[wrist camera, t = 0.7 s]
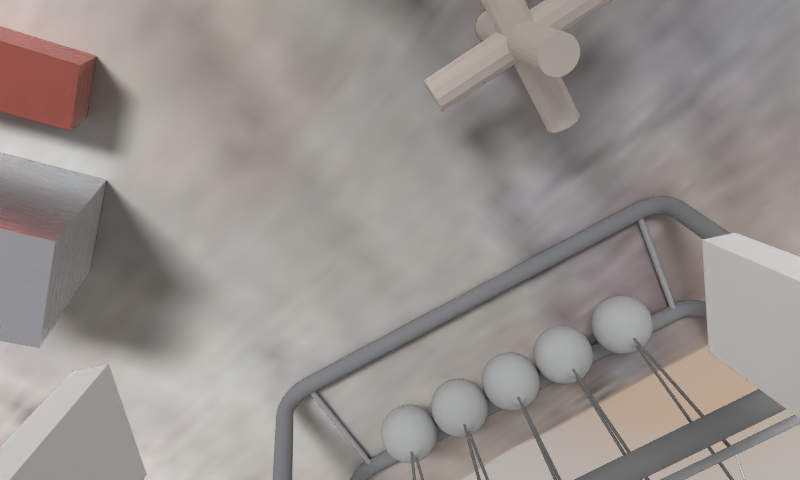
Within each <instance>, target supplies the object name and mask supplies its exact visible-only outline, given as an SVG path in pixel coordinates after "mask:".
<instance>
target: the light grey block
mask: <svg viewBox="0 0 800 480" xmlns="http://www.w3.org/2000/svg"><path fill="white" fill-rule="evenodd" d="M105 185H106V180H103V179H100V178H96V177H92V176H88V175H84V174H80V173H76V172H73V171H69V170H65V169H61V168H57V167H53V166H49V165H46V164H42V163H38V162H34V161H30V160H26V159H22V158H18V157H15V156H11V155H7V154H3V153H0V341H4V342H10V343H15V344H21V345H26V346H31V347H37V348H40V346H41V345H42V343H43V342H44V340H45V339H46V337H47V336H48V334H49V332H50V331H51V329H52V328H53V326H54V325H55V323H56V322H57V320H58V319H59V317H60V316H61V314H62V313H63V311H64V310H65V308H66V306H67V305H68V303H69V302H70V300H71V299H72V297H73V296H74V294H75V293H76V291H77V290H78V288H79V287H80V285H81V283H82V282H83V280H84V279H85V277H86V276H87V274H88V273H89V271H90V270H91V264H92V258H93V253H94V247H95V241H96V236H97V230H98V224H99V219H100V213H101V208H102V202H103V196H104V191H105Z"/></svg>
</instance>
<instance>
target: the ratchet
mask: <svg viewBox="0 0 800 480" xmlns="http://www.w3.org/2000/svg"><path fill="white" fill-rule="evenodd" d="M95 62H96V56H94V55H90V54H87V53H84V52H81V51H78V50H74V49H71V48H68V47H65V46H61V45H58V44H55V43H52V42H48V41H45V40H42V39H39V38H36V37H32V36H29V35H26V34H23V33H19V32H16V31H13V30H10V29H7V28H3V27H0V111H1V112H4V113H8V114H11V115H15V116H19V117H22V118H26V119H30V120H33V121H37V122H40V123H44V124H48V125H51V126H55V127H59V128H62V129H66V130H70V131H71V130H72V129H73V128H74V127H76V126H77V125H78V124H79V123H81V122H82V121H83V120H84V119H86V118H87V112H88V106H89V100H90V93H91V87H92V81H93V74H94V68H95Z"/></svg>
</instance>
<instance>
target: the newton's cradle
mask: <svg viewBox="0 0 800 480" xmlns="http://www.w3.org/2000/svg"><path fill="white" fill-rule="evenodd" d="M655 214H668V215H670V216H672V217H673V218H675V219H676V220H678V221H679V222H680V223H682V224H683V225H684V226H686V227H687V228H689V229H690V230H691V231H693V232H694V233H695V234H697V235H698V236H699V237H701V238H702V239H708V238H712V237H717V236H722V235H727V234H731V233H729V232H728V231H726V230H725V229H723V228H722V227H720V226H719V225H717V224H716V223H714V222H713V221H711V220H710V219H708V218H707V217H705V216H704V215H702V214H701V213H699V212H698V211H696V210H695V209H693V208H692V207H690V206H689V205H687V204H686V203H685V202H683V201H681V200H678V199H676V198H673V197H665V196H662V197H652V198H648V199H644V200H641V201H639V202H637V203H634V204H632V205H630V206H628V207H626V208H625V209H623V210H621V211H619V212H617V213H615V214H613V215H611V216H610V217H608V218H606V219H604V220H602V221H600V222H598V223H596V224H594V225H593V226H591V227H589V228H587V229H585V230H583V231H581V232H579V233H578V234H576V235H574V236H572V237H570V238H568V239H566V240H564V241H563V242H561V243H559V244H557V245H555V246H553V247H551V248H549V249H547V250H546V251H544V252H542V253H540V254H538V255H536V256H534V257H532V258H531V259H529V260H527V261H525V262H523V263H521V264H519V265H517V266H515V267H514V268H512V269H510V270H508V271H506V272H504V273H502V274H500V275H499V276H497V277H495V278H493V279H491V280H489V281H487V282H485V283H483V284H482V285H480V286H478V287H476V288H474V289H472V290H470V291H468V292H467V293H465V294H463V295H461V296H459V297H457V298H455V299H453V300H451V301H450V302H448V303H446V304H444V305H442V306H440V307H438V308H436V309H435V310H433V311H431V312H429V313H427V314H425V315H423V316H421V317H419V318H418V319H416V320H414V321H412V322H410V323H408V324H406V325H404V326H403V327H401V328H399V329H397V330H395V331H393V332H391V333H389V334H387V335H386V336H384V337H382V338H380V339H378V340H376V341H374V342H372V343H371V344H369V345H367V346H365V347H363V348H361V349H359V350H357V351H356V352H354V353H352V354H350V355H348V356H346V357H344V358H342V359H340V360H339V361H337V362H335V363H333V364H331V365H329V366H327V367H325V368H324V369H322V370H320V371H318V372H316V373H314V374H312V375H310V376H308V377H307V378H305V379H303V380H301V381H300V382H298V383H297V384H295V385H294V386H293V387H292V388H291V389H290V390H289V391H288V392H287V393H286V395H285V396H284V397H283V399H282V400H281V402H280V404H279V406H278V410H277V415H276V431H275V450H274V468H273V480H292V458H293V414H294V411H295V409H296V407H297V406H298V404H299V403H300V402H301V401H302V400H303V399H304V398H305V397H306V396H308V395H311V396H312V397H313V398H314V400H315V401H316V402H317V403H318V404H319V406H320V407H321V408H322V409H323V411H324V412H325V413H326V414H327V416H328V417H329V418H330V419H331V420H332V422H333V423H334V424H335V425H336V427H337V428H338V429H339V430H340V431H341V433H342V434H343V435H344V436H345V438H346V439H347V440H348V441H349V443H350V444H351V445H352V446H353V447H354V449H355V450H356V451H357V452H358V454H359V455H360V456H361V457H362V458H363V460H364V461H365V462H364V463H363V464H362V465H361V466H360V467H359V468H358V469H357V470H356V471H355V472H354V474H353V475H352V477H351V478H350V480H368V479H369V478H370V477H371V476H372V475H374V474H375V473H377V472H379V471H381V470H383V469H385V468H387V467H389V466H391V465H393V464H395V463H397V462H399V461H401V462H404V463H411V464H412V472H413V480H416V476H415V468H414V462H416V463H417V467H418V470H419V474H420V477H421V480H424V478H423V475H422V472H421V468H420V465H419V461H420V460H422V459H424V458H425V457H427V456H428V455H429V454H430V452H431V451H432V450H433V448H434V446H435V443H436V442H438V441H440V440H442V439H444V438H446V437H448V436H450V435H451V436H456V437H466V438H467V442H468V446H469V449H470V453H471V457H472V460H473V464H474V468H475V471H476V475H477V479H478V480H481V479H480V475H479V472H478V468H477V465H476V461H475V457H474V454H473V450H472V447H471V443H470V439H471V442H472V445H473V447H474V450H475V452H476V455H477V458H478V460H479V463H480V465H481V468H482V470H483V473H484V475H485V478H486V480H489V479H488V476H487V474H486V471H485V469H484V466H483V463H482V461H481V458H480V456H479V453H478V451H477V448H476V445H475V443H474V440H473V438H472V434H474V433H475V432H477V431H478V430H479V429H480V428H481V427H482V425H483V424H484V422H485V420H486V417H487V416H489V415H491V414H493V413H495V412H497V411H499V410H501V409H504V410H512V411H514V410H520V409H522V410H523V412H524V415H525V417H526V419H527V421H528V423H529V426H530V428H531V430H532V432H533V434H534V437H535V439H536V441H537V443H538V445H539V448H540V450H541V452H542V454H543V456H544V459H545V461H546V463H547V465H548V468H549V470H550V472H551V474H552V476H553V479H554V480H557V479H558V480H561V478H560V476H559V474H558V472H557V470H556V468H555V466H554V464H553V462H552V460H551V458H550V456H549V454H548V452H547V450H546V448H545V446H544V444H543V442H542V440H541V438H540V436H539V434H538V432H537V430H536V428H535V426H534V424H533V422H532V420H531V418H530V416H529V414H528V412H527V410H526V408H525V407H527V406H528V405H529V404H531V403H532V402H533V400H534V399H535V398H536V396H537V394H538V391H539V390H540V389H542V388H544V387H546V386H548V385H550V384H552V383H554V382H556V383H561V384H568V383H573V382H576V381H578V382H579V384H580V385H581V387H582V389H583V390H584V392H585V394H586V395H587V397H588V398H589V400H590V402H591V403H592V405H593V407H594V408H595V410H596V411H597V413H598V415H599V416H600V418H601V420H602V421H603V423H604V425H605V426H606V428H607V429H608V431H609V433H610V434H611V436H612V437H613V439H614V441H615V442H616V444H617V446H618V447H619V449H620V451H621V452H622V454H623V455H624V456H622V457H620V458H618V459H615V460H613V461H611V462H609V463H607V464H605V465H603V466H601V467H599V468H597V469H595V470H593V471H591V472H589V473H587V474H585V475H583V476H581V477H579V478H577V479H575V480H642V479H643V478H645V480H650V479H649V478H648V476H649V475H651V474H654V473H656V472H658V471H659V470H662V469H664V468H666V467H668V466H670V465H672V464H674V463H676V462H678V461H680V460H682V459H684V458H686V457H688V456H691V455H693V454H695V453H697V452H699V451H701V450H703V449H705V448H708V449H709V451H710V452H711V454H712V455H711V456H709V457H707V458H705V459H703V460H701V461H698V462H696V463H694V464H692V465H690V466H688V467H686V468H684V469H682V470H680V471H678V472H676V473H673V474H671V475H670V476H667V477H665V478H663V479H661V480H684V479H687V478H689V477H691V476H693V475H695V474H697V473H699V472H701V471H703V470H705V469H707V468H709V467H711V466H713V465H716V464H718V463H719V465H720V466H721V468H722V469H723V471H724V472H725V473H726V475H727V476H728V478H729V479H730V480H734V479H733V478H732V476H731V475H730V474H729V472H728V471H727V469H726V468H725V467H724V465H723V464H722V463H721V462H722V461H724V460H726V459H728V458H730V457H732V456H734V455H735V457H736V460H737V462H738V465H739V468H740V471H741V474H742V477H743V479H744V480H746V479H745V476H744V473H743V470H742V467H741V464H740V462H739V459H738V456H737V454H738V453H740V452H743V451H744V450H747V449H749V448H751V447H753V446H755V445H757V444H759V443H761V442H763V441H765V440H767V439H769V438H771V437H773V436H776V435H778V434H780V433H782V432H784V431H786V430H788V429H790V428H792V427H794V426H796V425H799V424H800V418H798V417H797V416H795V415H793V416H791V417H790V418H787V419H785V420H783V421H781V422H779V423H777V424H775V425H773V426H771V427H769V428H766V429H764V430H762V431H761V432H758V433H756V434H754V435H752V436H750V437H748V438H746V439H744V440H742V441H740V442H737V443H735V444H733V445H730V444H729V443H728V442H727V441H726V440H725V439H726V438H728V437H729V436H732V435H734V434H736V433H738V432H740V431H742V430H744V429H746V428H748V427H750V426H752V425H755V424H757V423H759V422H761V421H763V420H765V419H767V418H769V417H771V416H773V415H775V414H777V413H779V412H781V411H783V410H785V409H786V408H784V407H783V406H782V405H780V404H779V403H778V402H776V401H775V400H774V399H772V398H771V397H769V396H768V395H767V394H765V393H764V392H763V391H761V390H760V389H758V390H756V391H754V392H752V393H750V394H748V395H746V396H744V397H742V398H740V399H738V400H736V401H734V402H732V403H730V404H728V405H726V406H724V407H721V408H719V409H717V410H715V411H713V412H712V413H710V414H707V415H705V416H704V415H703V414H702V413H701V411H700V410H699V409H698V408H697V407H696V406H695V405H694V404H693V402H691V400H690V399H689V398H688V397H687V396H686V395H685V393H684V392H683V391H682V390H681V389H680V388H679V387H678V386H677V384H676V383H675V382H674V381H673V380H672V379H671V378H670V377H669V375H668V374H667V373H666V372H665V371H664V370H663V369H662V368H661V366H660V365H659V364H658V363H657V362H656V361H655V360H654V359H653V357H652V356H651V355H650V354H649V353H648V352H647V351H646V350H645V348H644V346H645V345H646V343H647V342H648V341H649V339H650V337H651V334H652V332H654V331H656V330H658V329H660V328H662V327H664V326H666V325H668V324H670V323H672V322H674V321H676V320H678V319H680V318H683V317H686V316H699V317H702V318H704V319H706V320H707V314H706V302H703V301H699V300H687V301H681V302H678V303H675V304H674V301H673V298H672V296H671V293H670V290H669V287H668V285H667V282H666V279H665V276H664V274H663V271H662V268H661V265H660V263H659V260H658V257H657V254H656V252H655V249H654V246H653V243H652V241H651V238H650V235H649V232H648V230H647V227H646V224H645V221H644V219H643V218H645V217H647V216H650V215H655ZM637 221H638V223H639V226H640V229H641V231H642V234H643V237H644V239H645V242H646V245H647V248H648V250H649V253H650V256H651V258H652V261H653V264H654V266H655V269H656V272H657V275H658V277H659V280H660V283H661V285H662V288H663V291H664V293H665V296H666V299H667V302H668V304H669V306H668V307H666V308H664V309H662V310H660V311H658V312H656V313H654V314H652V315H650V313H649V311H648V310H647V308H646V307H645V306H644V305H643V304H642V303H641V302H640V301H638V300H636V299H634V298H632V297H629V296H621V295H620V296H613V297H610V298H607V299H605V300H604V301H602V302H601V303H600V304H599V305H598V306H597V307H596V309H595V311H594V313H593V316H592V321H591V325H592V331H593V334H594V336H595V338H596V339H597V341H598V343H596V344H594V345H592V346H591V345H590V343H589V341H588V339H587V338H586V337H585V336H584V335H583V334H582V333H581V332H580V331H578V330H576V329H575V328H572V327H569V326H555V327H552V328H549V329H547V330H546V331H544V332H543V333H542V334H541V335H540V336H539V338H538V339H537V341H536V344H535V347H534V360H535V363H536V365H537V368H538V369H539V371H540V372H539V373H538V372H537V369H536V367H535V366H534V365H533V363H532V362H531V361H530V360H529V359H527V358H526V357H525V356H523V355H520V354H517V353H512V352H509V353H503V354H499V355H497V356H495V357H494V358H493V359H491V360H490V361H489V362H488V364H487V365H486V367H485V369H484V372H483V377H482V384H483V389H484V392H485V394H486V396H487V397H488V399H486V397H485V395H484V393H483V392H482V390H481V389H480V388H479V387H478V386H477V385H476V384H474V383H473V382H471V381H468V380H465V379H453V380H449V381H447V382H445V383H444V384H442V385H441V386H440V387H439V388H438V389H437V390H436V392H435V394H434V396H433V399H432V404H431V410H432V415H433V418H434V420H435V422H436V424H437V425H435V422H434V420H433V418H432V417H431V415H430V414H429V413H428V412H427V411H426V410H424V409H423V408H421V407H419V406H416V405H402V406H399V407H397V408H395V409H394V410H392V411H391V412H390V413H389V414H388V415H387V417H386V418H385V420H384V422H383V426H382V430H381V437H382V442H383V445H384V447H385V449H386V451H385V452H383V453H381V454H379V455H377V456H375V457H373V458H371V459H369V457H368V456H367V455H366V454H365V452H364V451H363V450H362V449H361V447H360V446H359V445H358V444H357V442H356V441H355V440H354V439H353V438H352V436H351V435H350V434H349V433H348V431H347V430H346V429H345V428H344V426H343V425H342V424H341V423H340V421H339V420H338V419H337V418H336V416H335V415H334V414H333V413H332V411H331V410H330V409H329V408H328V407H327V405H326V404H325V403H324V402H323V400H322V399H321V398H320V397H319V395H318V394H317V393H316V392H315V391H317V390H319V389H321V388H322V387H324V386H326V385H328V384H330V383H332V382H334V381H336V380H338V379H339V378H341V377H343V376H345V375H347V374H349V373H351V372H353V371H355V370H357V369H358V368H360V367H362V366H364V365H366V364H368V363H370V362H372V361H374V360H375V359H377V358H379V357H381V356H383V355H385V354H387V353H389V352H391V351H392V350H394V349H396V348H398V347H400V346H402V345H404V344H406V343H408V342H410V341H411V340H413V339H415V338H417V337H419V336H421V335H423V334H425V333H427V332H428V331H430V330H432V329H434V328H436V327H438V326H440V325H442V324H444V323H445V322H447V321H449V320H451V319H453V318H455V317H457V316H459V315H461V314H463V313H464V312H466V311H468V310H470V309H472V308H474V307H476V306H478V305H480V304H481V303H483V302H485V301H487V300H489V299H491V298H493V297H495V296H497V295H498V294H500V293H502V292H504V291H506V290H508V289H510V288H512V287H514V286H516V285H517V284H519V283H521V282H523V281H525V280H527V279H529V278H531V277H533V276H534V275H536V274H538V273H540V272H542V271H544V270H546V269H548V268H550V267H551V266H553V265H555V264H557V263H559V262H561V261H563V260H565V259H567V258H569V257H570V256H572V255H574V254H576V253H578V252H580V251H582V250H584V249H586V248H587V247H589V246H591V245H593V244H595V243H597V242H599V241H601V240H603V239H605V238H606V237H608V236H610V235H612V234H614V233H616V232H618V231H620V230H622V229H623V228H625V227H627V226H629V225H631V224H633V223H635V222H637ZM641 349H642V350H643V351H644V352H645V354H646V355H647V356H648V357H649V358H650V359H651V360H652V362H653V363H654V364H655V365H656V366H657V367H658V368H659V370H660V371H661V372H662V373H663V374H664V375H665V376H666V378H667V379H668V380H669V381H670V382H671V383H672V384H673V385H674V387H675V388H676V389H677V390H678V391H679V392H680V394H681V395H682V396H683V397H684V398H685V399H686V400H687V401H688V403H690V405H691V406H692V407H693V408H694V409H695V411H696V412H697V413H698V414H699V415H700V416H701V418H699V419H697V420H695V421H693V422H692V420H691V419H690V417H689V416H688V415H687V413H686V412H685V410H684V409H683V408H682V406H681V405H680V403H679V402H678V401H677V399H676V398H675V396H674V395H673V394H672V392H671V391H670V389H669V388H668V387H667V385H666V384H665V382H664V381H663V380H662V378H661V377H660V375H659V374H658V373H657V371H656V370H655V368H654V367H653V366H652V364H651V363H650V361H649V360H648V359H647V357H646V356H645V354H644V353H643V352H642V350H641ZM638 350H639V352H640V353H641V355H642V356H643V357H644V359H645V360H646V362H647V363H648V365H649V366H650V367H651V369H652V370H653V372H654V373H655V374H656V376H657V377H658V379H659V380H660V382H661V383H662V384H663V386H664V387H665V389H666V390H667V391H668V393H669V394H670V396H671V397H672V398H673V400H674V401H675V402H676V404H677V405H678V407H679V408H680V410H681V411H682V413H683V414H684V415H685V416H686V418H687V420H688V421H689V422H690V423H689V424H687V425H685V426H683V427H681V428H679V429H677V430H675V431H673V432H671V433H669V434H666V435H664V436H663V437H660V438H659V439H656V440H654V441H652V442H650V443H648V444H646V445H644V446H642V447H640V448H638V449H636V450H634V451H632V452H630V450H629V449H628V447H627V446H626V444H625V443H624V441H623V440H622V438H621V437H620V436H619V434H618V432H617V431H616V430H615V428H614V427H613V425H612V424H611V422H610V421H609V419H608V418H607V417H606V415H605V413H604V412H603V410H602V409H601V407H600V406H599V405H598V403H597V402H596V400H595V399H594V397H593V396H592V394H591V393H590V391H589V390H588V388H587V387H586V385H585V384H584V383H583V381H582V380H581V378H583V377H584V376H585V375H586V374H587V372H588V371H589V369H590V367H591V365H592V363H593V362H595V361H597V360H599V359H601V358H603V357H605V356H607V355H609V354H611V353H613V352H615V353H620V354H626V353H632V352H635V351H638ZM603 417H604V418H603ZM605 420H606V421H605ZM606 422H607V423H608V424H609V426H610V427H611V429H612V430H613V432H614V433H615V435H616V436H617V438H618V439H619V441H620V442H621V444H622V445H623V447H624V448H625V450H626V451H627V453H628V454H626V453H625V452H624V450H623V448H622V447H621V445H620V444H619V442H618V440H617V439H616V437H615V436H614V434H613V432H612V431H611V429H610V427H609V426H608V424H607V423H606ZM469 437H470V439H469ZM719 441H723V442H724V444H725V445H726V446H727V448H725V449H723V450H721V451H719V452H717V453H714V451H713V450H712V448H711V447H710V446H711V445H713V444H715V443H717V442H719ZM549 462H550V463H549ZM550 464H551V465H550ZM551 466H552V467H551ZM552 468H553V469H552ZM553 470H554V471H553ZM554 472H555V473H554ZM555 475H556V476H555ZM556 477H557V478H556Z"/></svg>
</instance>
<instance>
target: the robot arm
mask: <svg viewBox="0 0 800 480" xmlns="http://www.w3.org/2000/svg"><path fill="white" fill-rule="evenodd" d="M702 246H703V263H704V280H705V297H706V314H707V331H708V348H709V353H710V354H712V355H714V356H715V357H716V358H718V359H719V360H720V361H722V362H723V363H724V364H726V365H727V366H728V367H730V368H731V369H732V370H734V371H735V372H737V373H738V374H739V375H741V376H742V377H743V378H745V379H746V380H747V381H749V382H751V383H752V384H753V385H755V386H756V387H757V388H758V389H760V390H761V391H763V392H764V393H765V394H767V395H768V396H769V397H771V398H772V399H774V400H775V401H776V402H778V403H779V404H780V405H782V406H783V407H784V408H786V409H788V410H789V411H790V412H791V413H793V414H794V415H795V416H797V417H798V418H800V257H799V256H796V255H794V254H791V253H788V252H786V251H783V250H780V249H778V248H775V247H772V246H770V245H767V244H764V243H762V242H759V241H756V240H754V239H751V238H748V237H746V236H743V235H740V234H738V233H732V234H727V235H722V236H717V237H712V238H708V239H703V240H702ZM145 476H146V471H145V468H144V465H143V463H142V460H141V457H140V454H139V451H138V448H137V445H136V442H135V439H134V436H133V434H132V431H131V428H130V425H129V422H128V419H127V416H126V413H125V410H124V407H123V404H122V402H121V399H120V396H119V393H118V390H117V387H116V384H115V381H114V378H113V375H112V373H111V370H110V367H109V364H105V365H100V366H95V367H91V368H86V369H81V370H76V371H72V372H71V373H70V374H69V375H68V376H67V377H66V379H65V380H64V381H63V382H62V383H61V384H60V385H59V386H58V387H57V388H56V389H55V390H54V391H53V392H52V393H51V394H50V395H49V396H48V397H47V398H46V399H45V400H44V402H43V403H42V404H41V405H40V406H39V407H38V408H37V409H36V410H35V411H34V412H33V413H32V414H31V415H30V416H29V417H28V418H27V419H26V420H25V421H24V422H23V424H22V425H21V426H20V427H19V428H18V429H17V430H16V431H15V432H14V433H13V434H12V435H11V436H10V437H9V438H8V439H7V440H6V441H5V442H4V443H3V444H2V445H1V447H0V480H144V478H145Z"/></svg>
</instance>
